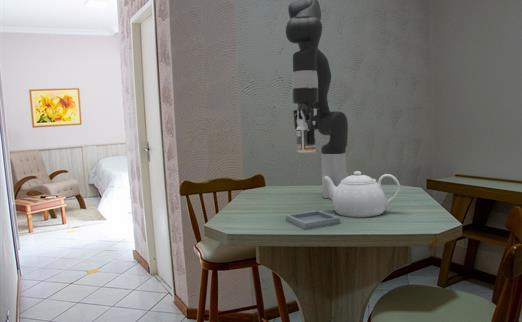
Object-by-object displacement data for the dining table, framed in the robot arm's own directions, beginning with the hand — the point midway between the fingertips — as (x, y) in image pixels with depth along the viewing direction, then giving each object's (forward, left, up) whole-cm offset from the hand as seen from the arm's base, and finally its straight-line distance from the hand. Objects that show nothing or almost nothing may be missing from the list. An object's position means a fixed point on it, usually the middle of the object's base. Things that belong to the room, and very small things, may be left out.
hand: (306, 143), depth 128 cm
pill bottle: (0, 0, -3) cm, 3 cm away
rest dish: (-1, +1, -24) cm, 24 cm away
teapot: (-21, -2, -24) cm, 32 cm away
